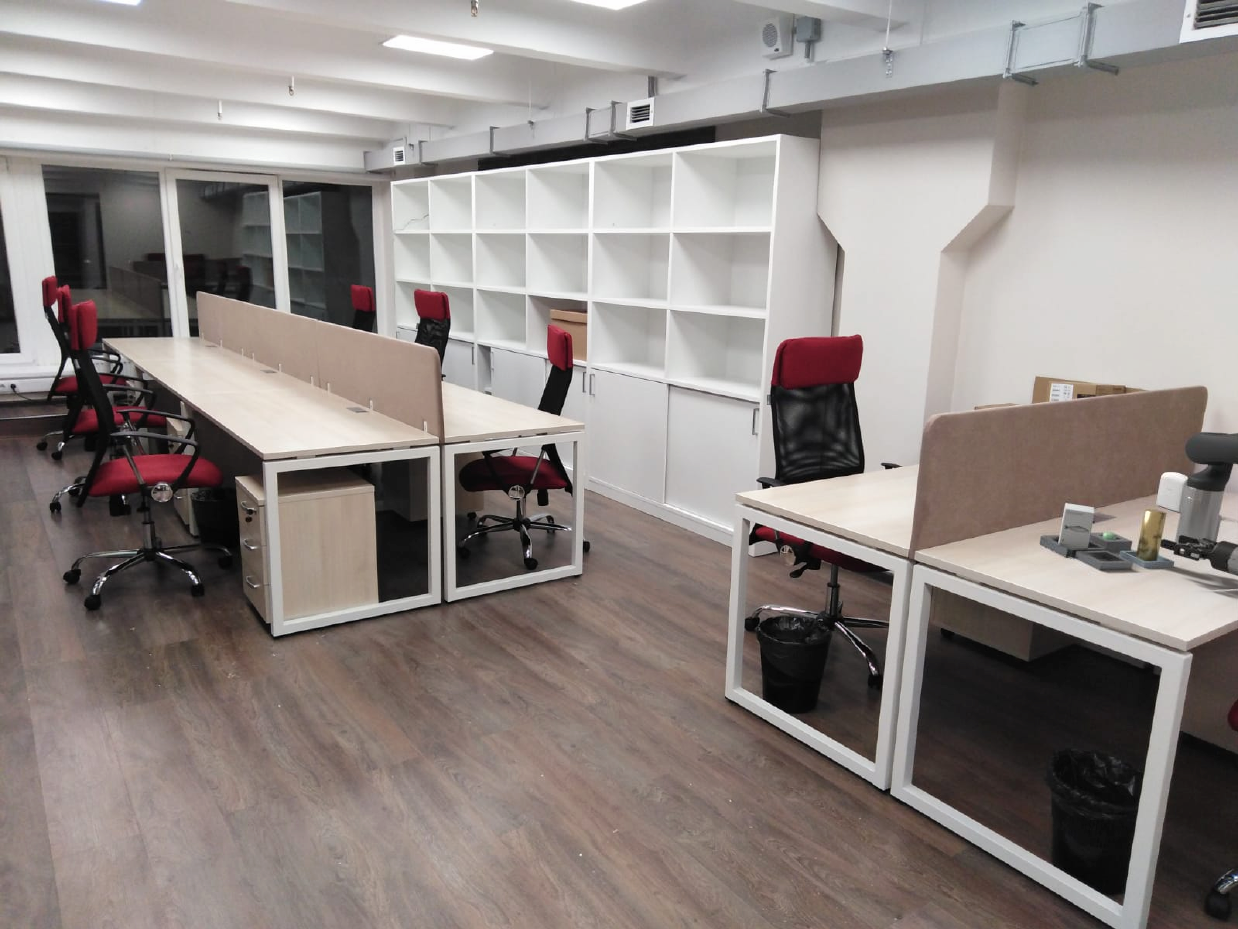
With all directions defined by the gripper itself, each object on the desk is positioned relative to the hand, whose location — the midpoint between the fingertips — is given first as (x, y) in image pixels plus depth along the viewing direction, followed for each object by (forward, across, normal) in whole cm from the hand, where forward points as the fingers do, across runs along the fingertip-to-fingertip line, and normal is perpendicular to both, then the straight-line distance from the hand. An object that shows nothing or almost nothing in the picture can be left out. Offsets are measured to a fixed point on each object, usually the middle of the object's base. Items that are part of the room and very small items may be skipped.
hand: (1170, 540), depth 228 cm
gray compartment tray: (+14, +12, +8) cm, 20 cm away
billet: (+5, 0, +8) cm, 9 cm away
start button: (+17, -2, +7) cm, 18 cm away
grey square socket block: (+17, -2, +8) cm, 19 cm away
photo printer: (+34, -67, +8) cm, 75 cm away
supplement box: (+20, +9, +8) cm, 24 cm away
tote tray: (+5, 0, +8) cm, 9 cm away
